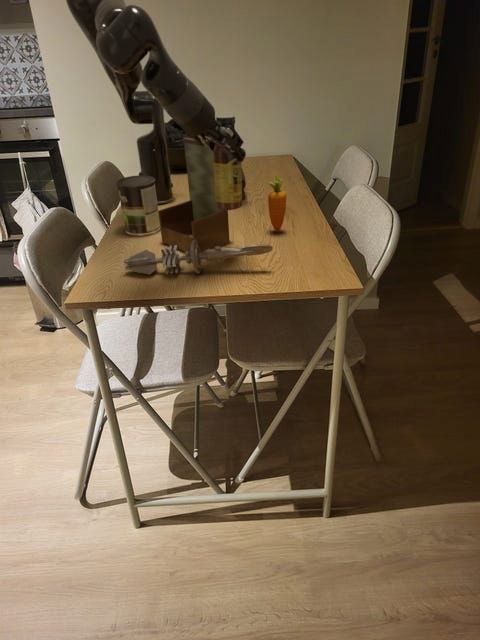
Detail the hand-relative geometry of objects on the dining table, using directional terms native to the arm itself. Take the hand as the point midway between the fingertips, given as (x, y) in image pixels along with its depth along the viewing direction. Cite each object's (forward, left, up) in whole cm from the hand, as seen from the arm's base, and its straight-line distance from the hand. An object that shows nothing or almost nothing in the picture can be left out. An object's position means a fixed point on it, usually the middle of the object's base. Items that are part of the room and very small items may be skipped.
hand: (232, 156), depth 107 cm
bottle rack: (-13, +4, -24) cm, 27 cm away
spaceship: (-5, -12, -24) cm, 28 cm away
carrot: (+6, +16, -24) cm, 30 cm away
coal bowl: (-50, +73, -24) cm, 92 cm away
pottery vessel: (-18, +43, -24) cm, 53 cm away
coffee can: (-32, +9, -24) cm, 41 cm away
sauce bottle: (-1, -2, -12) cm, 12 cm away
